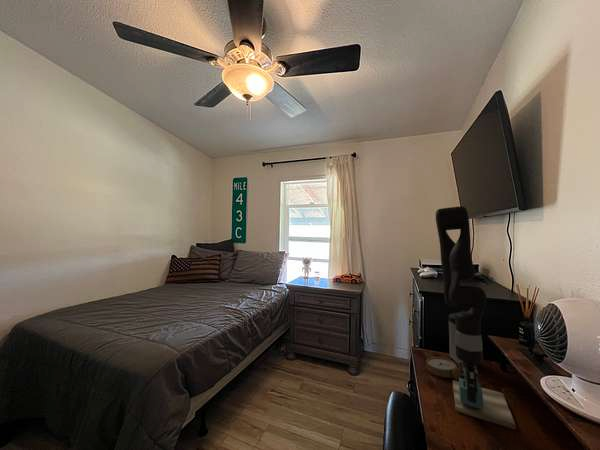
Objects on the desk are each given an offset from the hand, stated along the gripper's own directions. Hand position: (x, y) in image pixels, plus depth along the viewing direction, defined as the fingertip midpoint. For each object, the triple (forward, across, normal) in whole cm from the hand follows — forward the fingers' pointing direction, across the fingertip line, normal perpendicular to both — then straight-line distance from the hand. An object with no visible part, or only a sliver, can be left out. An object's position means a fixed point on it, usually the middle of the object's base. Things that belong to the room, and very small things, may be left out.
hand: (470, 394), depth 79 cm
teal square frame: (+2, 0, 0) cm, 2 cm away
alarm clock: (+5, -20, -6) cm, 22 cm away
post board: (+5, -4, +3) cm, 7 cm away
